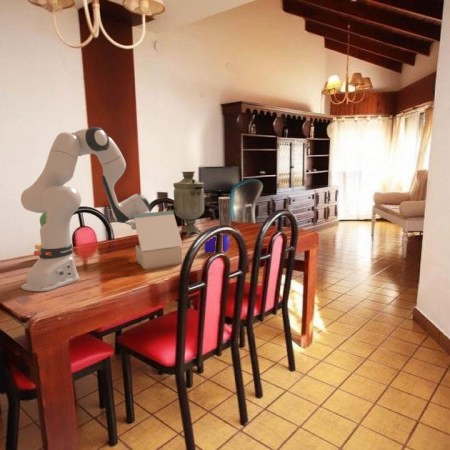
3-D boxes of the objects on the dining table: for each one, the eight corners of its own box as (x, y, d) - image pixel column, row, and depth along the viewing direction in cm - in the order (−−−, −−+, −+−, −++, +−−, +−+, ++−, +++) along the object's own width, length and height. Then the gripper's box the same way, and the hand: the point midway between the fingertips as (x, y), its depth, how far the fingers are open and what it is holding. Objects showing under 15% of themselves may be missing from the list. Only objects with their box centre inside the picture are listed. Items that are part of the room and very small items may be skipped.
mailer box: (182, 263, 170) (181, 247, 169) (144, 269, 162) (143, 252, 161) (172, 256, 183) (171, 241, 182) (136, 261, 176) (135, 245, 174)
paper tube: (231, 237, 221) (230, 196, 217) (230, 240, 214) (229, 198, 210) (220, 237, 222) (219, 197, 217) (219, 240, 215) (217, 198, 211)
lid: (182, 246, 169) (182, 245, 168) (141, 251, 161) (141, 250, 160) (172, 211, 177) (172, 210, 176) (133, 215, 169) (133, 214, 168)
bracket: (224, 254, 185) (223, 231, 183) (205, 252, 189) (204, 230, 187) (236, 245, 201) (236, 224, 199) (218, 244, 205) (217, 224, 203)
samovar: (163, 230, 249) (159, 172, 241) (200, 227, 256) (197, 170, 249) (170, 239, 221) (166, 173, 213) (211, 235, 228) (209, 171, 221)
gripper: (127, 217, 178) (133, 221, 166) (167, 213, 187) (176, 216, 175) (128, 229, 179) (134, 234, 167) (167, 225, 188) (176, 229, 176)
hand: (156, 225), depth 171 cm, fingers closed, pressing on lid
